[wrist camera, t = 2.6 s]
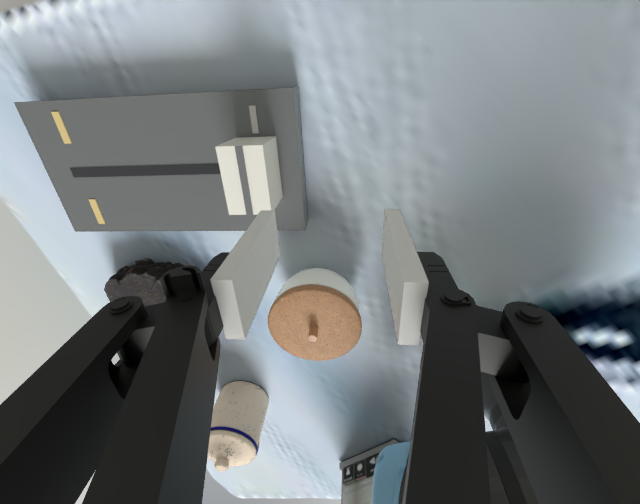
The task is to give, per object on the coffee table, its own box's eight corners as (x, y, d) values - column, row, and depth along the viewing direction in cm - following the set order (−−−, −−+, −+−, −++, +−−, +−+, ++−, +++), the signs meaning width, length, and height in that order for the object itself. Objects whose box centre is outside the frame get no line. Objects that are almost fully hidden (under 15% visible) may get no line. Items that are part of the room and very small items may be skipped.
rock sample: (101, 280, 44) (74, 301, 40) (173, 230, 39) (151, 248, 35) (185, 356, 50) (169, 381, 46) (257, 322, 45) (247, 346, 41)
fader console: (298, 87, 30) (293, 87, 27) (308, 219, 36) (304, 230, 34) (41, 101, 32) (13, 102, 30) (93, 221, 39) (74, 231, 36)
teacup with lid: (210, 383, 53) (177, 454, 43) (256, 374, 51) (232, 447, 40) (242, 424, 58) (219, 496, 48) (285, 417, 56) (270, 491, 46)
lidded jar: (301, 326, 45) (290, 380, 36) (267, 268, 40) (245, 315, 32) (371, 307, 42) (376, 360, 34) (342, 242, 37) (339, 286, 29)
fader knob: (276, 136, 29) (262, 145, 24) (282, 196, 32) (271, 215, 27) (235, 137, 29) (214, 147, 25) (245, 197, 32) (228, 215, 28)
